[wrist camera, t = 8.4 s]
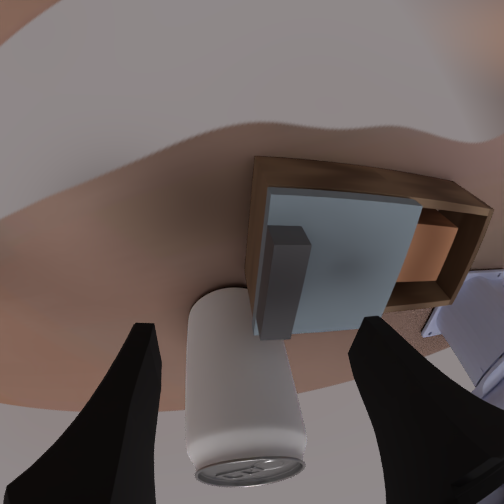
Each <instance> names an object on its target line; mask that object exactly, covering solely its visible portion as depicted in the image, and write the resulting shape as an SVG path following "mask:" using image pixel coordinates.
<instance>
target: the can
mask: <svg viewBox="0 0 504 504" xmlns="http://www.w3.org/2000/svg"><path fill="white" fill-rule="evenodd" d="M252 319H253V318H252V312H251V306H250V300H249V294H248V289H245V288H238V287H230V288H223V289H219V290H216V291H213V292H211V293H209V294H207V295H205V296H203V297H202V298H201V299H199V300H198V301H197V302H196V303H195V304H194V306H193V307H192V309H191V311H190V314H189V319H188V332H187V354H186V393H185V427H186V429H185V431H186V450H187V454H188V456H189V458H190V460H191V461H192V463H193V465H194V466H195V468H196V473H195V478H196V479H197V480H198V481H200V482H202V483H204V484H208V485H212V486H219V487H252V486H260V485H266V484H271V483H275V482H279V481H282V480H285V479H288V478H291V477H293V476H295V475H297V474H299V473H300V472H301V471H303V469H304V468H305V462H303V454H304V451H305V448H306V444H307V436H306V430H305V425H304V421H303V418H302V413H301V409H300V404H299V400H298V396H297V392H296V388H295V384H294V380H293V376H292V372H291V368H290V364H289V360H288V356H287V352H286V348H285V344H284V341H283V340H261V341H260V337H259V335H253V329H252Z"/></svg>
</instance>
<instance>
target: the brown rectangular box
mask: <svg viewBox="0 0 504 504" xmlns="http://www.w3.org/2000/svg"><path fill="white" fill-rule="evenodd" d="M268 187H278V188H296V189H312V190H326V191H339V192H350V193H361V194H372V195H381V196H391V197H399V198H408V199H414V200H416V201H417V202H418V203H419V204H421V205H422V206H423V207H422V208H431V209H439V212H440V213H441V214H442V215H443V216H445V217H446V218H447V219H448V220H449V221H451V222H452V223H453V224H454V225H455V226H457V227H458V230H457V233H456V236H455V238H454V241H453V243H452V245H451V248H450V250H449V253H448V255H447V257H446V260H445V262H444V264H443V267H442V269H441V271H440V273H439V275H438V277H437V280H436V281H413V282H396V283H395V286H394V288H393V291H392V293H391V295H390V298H389V300H388V302H387V305H386V307H385V309H384V311H383V313H386V312H396V311H406V310H414V309H423V308H431V307H439V306H446V305H452V304H453V302H454V300H455V298H456V297H457V295H458V293H459V291H460V289H461V287H462V285H463V283H464V281H465V279H466V277H467V274H468V272H469V270H470V268H471V266H472V264H473V262H474V259H475V257H476V255H477V252H478V250H479V248H480V245H481V243H482V240H483V238H484V236H485V233H486V230H487V228H488V225H489V223H490V220H491V217H492V214H493V212H494V209H493V208H491V207H490V206H488V205H487V204H486V203H484V202H483V201H481V200H480V199H478V198H477V197H476V196H474V195H473V194H471V193H470V192H468V191H467V190H465V189H464V188H462V187H461V186H459V185H457V184H456V183H454V182H453V181H448V180H443V179H438V178H433V177H428V176H423V175H417V174H412V173H406V172H400V171H394V170H387V169H381V168H374V167H367V166H359V165H351V164H343V163H335V162H325V161H315V160H305V159H293V158H280V157H264V156H255V158H254V169H253V180H252V192H251V203H250V214H249V226H248V237H247V249H246V260H245V276H246V282H247V288H248V294H249V300H250V306H251V312H252V318H253V310H254V302H255V293H256V285H257V276H258V268H259V259H260V250H261V241H262V233H263V224H264V215H265V206H266V197H267V188H268Z"/></svg>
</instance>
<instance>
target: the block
mask: <svg viewBox="0 0 504 504" xmlns="http://www.w3.org/2000/svg"><path fill="white" fill-rule="evenodd" d="M457 230H458V227H457V226H455V225H454V224H453V223H452V222H451V221H449V220H448V219H447V218H446V217H445V216H443V215H442V214H441V213H440V212H438V211H437V210H436V209H431V208H422V211H421V214H420V217H419V220H418V223H417V226H416V229H415V232H414V235H413V238H412V241H411V244H410V247H409V249H408V252H407V255H406V258H405V260H404V263H403V266H402V268H401V271H400V273H399V276H398V278H397V281H396V282H413V281H436V280H437V277H438V275H439V273H440V271H441V269H442V267H443V264H444V262H445V260H446V257H447V255H448V253H449V250H450V248H451V245H452V243H453V241H454V238H455V236H456V233H457Z"/></svg>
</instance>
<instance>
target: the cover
mask: <svg viewBox="0 0 504 504" xmlns="http://www.w3.org/2000/svg"><path fill="white" fill-rule="evenodd" d="M422 207H423V206H422V205H421V204H419V203H418V202H417V201H416V200H414V199H408V198H399V197H391V196H381V195H372V194H361V193H350V192H339V191H326V190H312V189H296V188H278V187H268V188H267V197H266V206H265V215H264V224H263V233H262V241H261V250H260V259H259V268H258V276H257V285H256V293H255V302H254V310H253V319H252V329H253V335H259V337H260V341H261V340H283V339H290V338H291V334H297V333H313V332H326V331H338V330H350V329H359V328H360V326H361V323H362V321H363V319H364V317H369V316H379V317H381V316H382V314H383V311H384V309H385V307H386V305H387V302H388V300H389V298H390V295H391V293H392V291H393V288H394V286H395V283H396V281H397V278H398V276H399V273H400V271H401V268H402V266H403V263H404V260H405V258H406V255H407V252H408V249H409V247H410V244H411V241H412V238H413V235H414V232H415V229H416V226H417V223H418V220H419V217H420V214H421V211H422Z"/></svg>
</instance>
